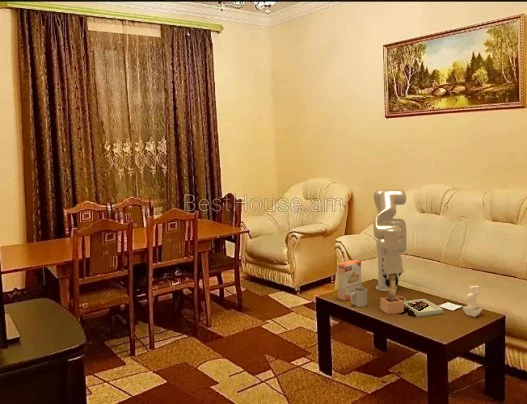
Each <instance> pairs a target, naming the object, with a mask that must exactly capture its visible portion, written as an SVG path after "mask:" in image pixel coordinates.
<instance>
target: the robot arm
mask: <svg viewBox="0 0 527 404" xmlns="http://www.w3.org/2000/svg"><path fill="white" fill-rule="evenodd" d="M373 201H374V204H375V207H376V210H377V214H376V216H375V217H374V220H373V224H372V225H373V227H372V228H373V236H374V237H375V239H376V250H377V269H378V270H377V273H378V275H377V278H378V279H377V283H378V284H377V285H375V288H376V289H375V290H377V291H380V292H387V293H388V287H389V286H390V280H389V274H395V275H396V291H397V290H398V285H399V279H400V277H401V275H402V274H403V273H405V270H404V268H403V260H402V255H401V254H403V253H406V252H407V249H408V248H407V247H408V244H407V243H408V241H407V224H406V221H405V219H403V218H394V217H395V216H396V215H397V206H399V205H400V206H402V205H403V206H404V205H405V204H406V203H407V202H406V201H407V195H406V192H405V191H404V190H403V189H379V190H375V191H374V193H373Z"/></svg>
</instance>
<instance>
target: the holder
mask: <svg viewBox="0 0 527 404" xmlns="http://www.w3.org/2000/svg"><path fill="white" fill-rule="evenodd" d="M404 301H405V300H402V299H400V298H399V297H398V296H396V301H394V302H390V301H388V296H387V297H380V298H379V304H380V305H379V306H380V307H379V308H380V310H381V311H383V313H385V314H387V315H395V314H396V315H397V314H402V312H405V308H404Z"/></svg>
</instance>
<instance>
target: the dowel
mask: <svg viewBox="0 0 527 404" xmlns="http://www.w3.org/2000/svg"><path fill="white" fill-rule="evenodd" d="M389 280H390V286H389V287H388V292H387V297H388V301H390V302H394V301H396V297H397V296H396V295H397V292H396V291H397V290H396V275H395V274H389Z"/></svg>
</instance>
